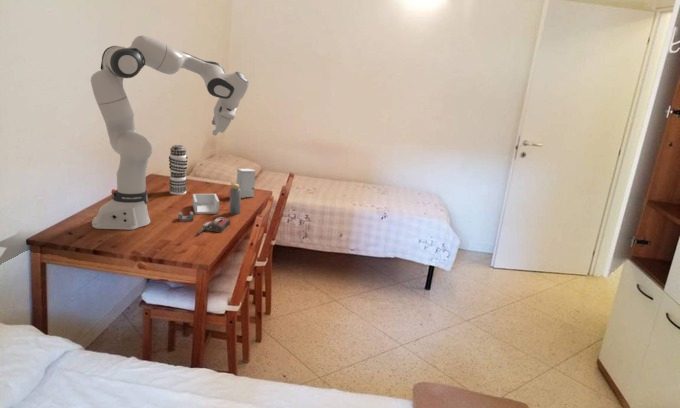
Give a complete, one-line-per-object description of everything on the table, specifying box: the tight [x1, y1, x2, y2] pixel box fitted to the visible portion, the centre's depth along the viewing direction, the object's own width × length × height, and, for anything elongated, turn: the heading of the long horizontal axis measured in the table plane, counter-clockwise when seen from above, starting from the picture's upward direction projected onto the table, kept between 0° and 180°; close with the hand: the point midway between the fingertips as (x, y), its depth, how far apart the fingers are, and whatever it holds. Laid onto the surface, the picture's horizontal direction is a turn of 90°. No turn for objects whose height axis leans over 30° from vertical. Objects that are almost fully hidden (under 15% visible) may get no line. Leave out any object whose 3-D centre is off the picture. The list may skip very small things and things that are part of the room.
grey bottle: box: [229, 183, 242, 215], centre depth 227 cm, size 5×5×14 cm
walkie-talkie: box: [196, 216, 231, 235], centre depth 205 cm, size 9×4×20 cm
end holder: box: [192, 193, 220, 215], centre depth 229 cm, size 11×13×6 cm
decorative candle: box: [168, 144, 188, 196], centre depth 248 cm, size 9×9×25 cm
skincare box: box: [236, 168, 256, 199], centre depth 255 cm, size 8×6×15 cm
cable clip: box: [178, 211, 194, 222], centre depth 213 cm, size 6×4×3 cm, turn 111°
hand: (213, 129), depth 222 cm, fingers open, 8 cm apart
